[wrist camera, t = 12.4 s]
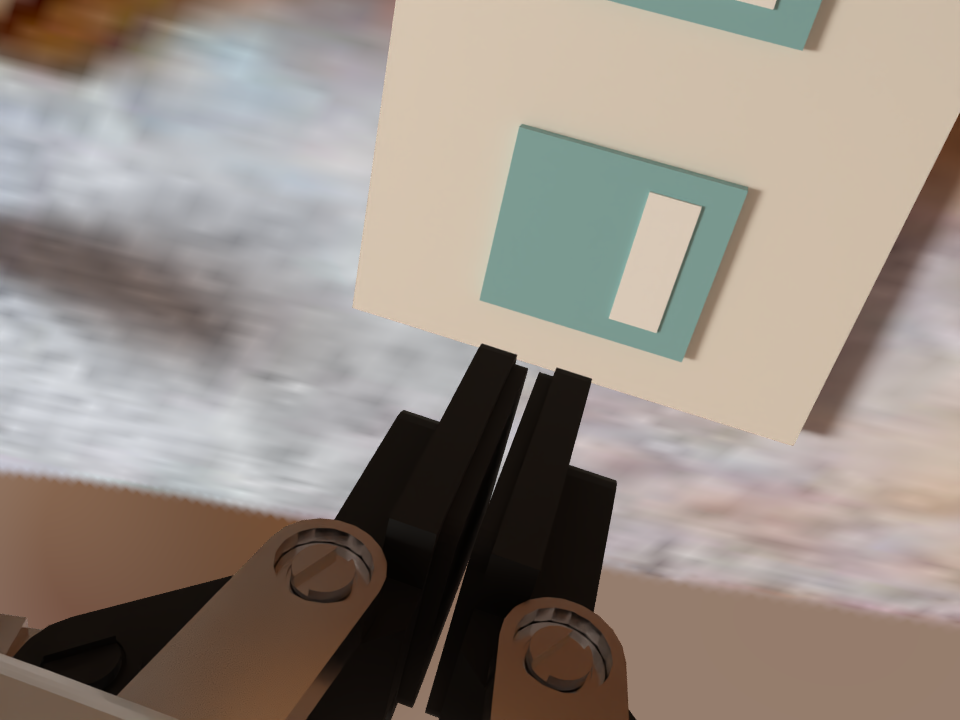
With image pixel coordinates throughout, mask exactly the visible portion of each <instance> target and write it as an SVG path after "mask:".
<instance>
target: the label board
mask: <svg viewBox="0 0 960 720" xmlns="http://www.w3.org/2000/svg"><path fill="white" fill-rule="evenodd" d="M959 113H960V0H396V4H395V11H394V18H393V25H392V32H391V39H390V46H389V53H388V60H387V67H386V74H385V81H384V88H383V95H382V102H381V109H380V116H379V123H378V131H377V138H376V145H375V152H374V159H373V166H372V173H371V180H370V187H369V194H368V201H367V208H366V215H365V222H364V229H363V236H362V243H361V250H360V257H359V265H358V272H357V279H356V286H355V293H354V300H353V307H352V308H355V309H358V310H361V311H365V312H368V313H371V314H374V315H377V316H380V317H384V318H387V319H390V320H393V321H396V322H400V323H403V324H406V325H409V326H412V327H415V328H419V329H422V330H425V331H428V332H431V333H435V334H438V335H441V336H444V337H447V338H451V339H454V340H457V341H460V342H463V343H466V344H470V345H473V346H476V347H480V345H481V344H482V343H483V344H486V345H489V346H492V347H495V348H498V349H501V350H504V351H508V352H511V353H514V354H517V360H521V361H524V362H527V363H530V364H533V365H536V366H540V367H543V368H546V369H549V370H552V371H555V370H556V367H557V368H561V369H564V370H567V371H570V372H573V373H576V374H579V375H582V376H585V377H589V378H592V381H591V383H594V384H597V385H600V386H603V387H607V388H610V389H613V390H616V391H619V392H622V393H626V394H629V395H632V396H635V397H638V398H642V399H645V400H648V401H651V402H654V403H658V404H661V405H664V406H667V407H670V408H673V409H677V410H680V411H683V412H686V413H689V414H693V415H696V416H699V417H702V418H705V419H708V420H712V421H715V422H718V423H721V424H724V425H728V426H731V427H734V428H737V429H740V430H744V431H747V432H750V433H753V434H756V435H759V436H763V437H766V438H769V439H772V440H775V441H779V442H782V443H785V444H788V445H791V446H794V444H795V442H796V440H797V438H798V436H799V434H800V432H801V430H802V428H803V426H804V424H805V422H806V420H807V418H808V416H809V414H810V412H811V410H812V408H813V406H814V404H815V402H816V400H817V398H818V396H819V394H820V392H821V389H822V387H823V385H824V383H825V381H826V379H827V377H828V375H829V373H830V371H831V369H832V367H833V365H834V363H835V361H836V359H837V357H838V355H839V353H840V351H841V349H842V347H843V345H844V343H845V341H846V339H847V337H848V335H849V333H850V331H851V329H852V327H853V325H854V323H855V321H856V319H857V317H858V315H859V313H860V311H861V309H862V307H863V305H864V303H865V301H866V299H867V297H868V295H869V293H870V291H871V289H872V287H873V285H874V283H875V281H876V279H877V277H878V275H879V273H880V271H881V269H882V267H883V265H884V263H885V261H886V259H887V257H888V255H889V253H890V251H891V249H892V247H893V245H894V243H895V241H896V239H897V237H898V235H899V233H900V231H901V229H902V227H903V225H904V223H905V221H906V219H907V217H908V215H909V213H910V211H911V209H912V207H913V205H914V203H915V201H916V199H917V197H918V195H919V193H920V191H921V189H922V187H923V185H924V183H925V181H926V179H927V177H928V175H929V173H930V171H931V169H932V167H933V165H934V163H935V161H936V159H937V157H938V155H939V153H940V151H941V149H942V147H943V145H944V143H945V141H946V139H947V137H948V135H949V133H950V131H951V129H952V127H953V125H954V123H955V121H956V119H957V117H958V115H959Z"/></svg>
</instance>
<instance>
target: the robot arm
mask: <svg viewBox="0 0 960 720" xmlns="http://www.w3.org/2000/svg"><path fill="white" fill-rule="evenodd" d="M516 359H517V354H514V353H511V352H508V351H504V350H501V349H498V348H495V347H492V346H489V345H486V344H483V343H482V344H481V345H480V347H479V348H478V350H477V352H476V354H475V356H474V358H473V360H472V362H471V364H470V366H469V367H468V369H467V371H466V373H465V375H464V377H463V379H462V381H461V383H460V385H459V386H458V388H457V390H456V392H455V394H454V396H453V398H452V400H451V402H450V404H449V405H448V407H447V409H446V411H445V413H444V415H443V417H442V419H441V421H440V422H438V421H435V420H432V419H429V418H426V417H423V416H420V415H417V414H414V413H411V412H408V411H405V410H403V411H401V412H400V414H399V415H398V416H397V418H396V420H395V421H394V423H393V424H392V426H391V428H390V429H389V431H388V433H387V434H386V436H385V438H384V439H383V441H382V442H381V444H380V446H379V447H378V449H377V451H376V452H375V454H374V456H373V457H372V459H371V461H370V462H369V464H368V465H367V467H366V469H365V470H364V472H363V474H362V475H361V477H360V479H359V480H358V482H357V483H356V485H355V487H354V488H353V490H352V492H351V493H350V495H349V497H348V498H347V500H346V501H345V503H344V505H343V506H342V508H341V510H340V511H339V513H338V515H337V516H336V518H335V520H331V519H321V518H319V519H311V520H302V521H299V522H296V523H294V524H291V525H288V526H286V527H284V528H283V529H281V530H280V531H279V532H277V533H276V534H274V535H273V536H272V537H271V538H270V539H269V540H268V541H267V542H266V543H265V544H264V545H263V546H262V547H261V548H260V549H259V550H258V551H257V552H256V553H255V554H254V555H253V556H252V557H251V558H250V559H249V560H248V561H247V562H246V563H245V564H244V565H243V566H242V568H241V569H239V571H238V572H237V573H236V574H235V575H233V576H229V577H225V578H221V579H217V580H213V581H210V582H206V583H202V584H198V585H194V586H190V587H187V588H183V589H179V590H175V591H171V592H167V593H163V594H159V595H155V596H151V597H148V598H144V599H140V600H136V601H132V602H128V603H125V604H120V605H117V606H113V607H109V608H105V609H101V610H97V611H93V612H89V613H86V614H82V615H78V616H74V617H70V618H68V619H65V620H63V621H60V622H57V623H55V624H52V625H49V626H48V627H46V628H45V629H43V630H40V629H34V628H28V623H27V618H26V617H19V616H12V615H5V614H0V720H391V718H392V716H393V713H394V711H395V708H396V706H397V703H400V704H403V705H406V706H408V707H411V708H412V707H413V705H414V703H415V700H416V698H417V695H418V693H419V690H420V687H421V685H422V682H423V680H424V677H425V674H426V671H427V669H428V666H429V664H430V661H431V658H432V656H433V653H434V651H435V648H436V645H437V642H438V640H439V637H440V635H441V632H442V629H443V627H444V624H445V621H446V619H447V616H448V614H449V611H450V608H451V606H452V603H453V600H454V598H455V595H456V592H457V590H458V587H459V584H460V582H461V579H462V576H463V574H464V571H465V569H466V572H465V575H464V579H463V583H462V586H461V589H460V593H459V596H458V600H457V603H456V606H455V610H454V613H453V617H452V620H451V624H450V628H449V631H448V634H447V638H446V641H445V645H444V648H443V652H442V655H441V659H440V662H439V665H438V669H437V672H436V676H435V679H434V683H433V686H432V690H431V693H430V697H429V700H428V704H427V707H426V711H425V713H427V714H430V715H433V716H435V717H438V718H439V720H636V719H635V717H634V716H633V715H632V713H631V712H630V711H629V709H628V692H627V672H626V661H625V656H624V652H623V647H622V645H621V643H620V641H619V640H618V638H617V636H616V635H615V633H614V631H613V630H612V629H611V628H610V627H609V626H608V624H606V622H604V620H603V619H602V618H601V617H600V616H598V615H597V614H595V613H594V607H595V602H596V596H597V591H598V585H599V580H600V574H601V569H602V564H603V558H604V553H605V547H606V542H607V536H608V531H609V526H610V520H611V515H612V509H613V504H614V498H615V493H616V486H617V481H616V480H613V479H610V478H607V477H604V476H601V475H598V474H595V473H592V472H589V471H586V470H583V469H580V468H577V467H574V466H571V465H569V463H570V459H571V455H572V452H573V448H574V444H575V441H576V437H577V433H578V430H579V426H580V422H581V418H582V415H583V411H584V407H585V404H586V400H587V396H588V393H589V389H590V385H591V381H592V378H589V377H585V376H582V375H579V374H576V373H573V372H570V371H567V370H564V369H561V368H557V367H556V370H555V373H554V376H550V375H547V374H544V373H541V372H539V374H538V377H537V379H536V382H535V385H534V387H533V390H532V392H531V395H530V398H529V400H528V403H527V406H526V408H525V411H524V413H523V416H522V419H521V421H520V424H519V427H518V429H517V432H516V434H515V437H514V440H513V442H512V445H511V448H510V450H509V453H508V455H507V458H506V461H505V463H504V466H503V469H502V471H501V474H500V477H499V479H498V482H497V484H496V487H495V490H494V492H493V488H494V485H495V482H496V478H497V475H498V471H499V468H500V464H501V461H502V458H503V454H504V451H505V447H506V444H507V440H508V437H509V434H510V430H511V427H512V423H513V420H514V416H515V413H516V410H517V406H518V403H519V399H520V396H521V392H522V389H523V386H524V382H525V379H526V375H527V371H528V368H525V367H522V366H519V365H516V364H515V363H516ZM492 492H493V495H492ZM491 495H492V498H491ZM490 499H491V500H490ZM489 502H490V503H489ZM468 561H469V562H468ZM467 563H468V565H467ZM466 566H467V568H466Z"/></svg>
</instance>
